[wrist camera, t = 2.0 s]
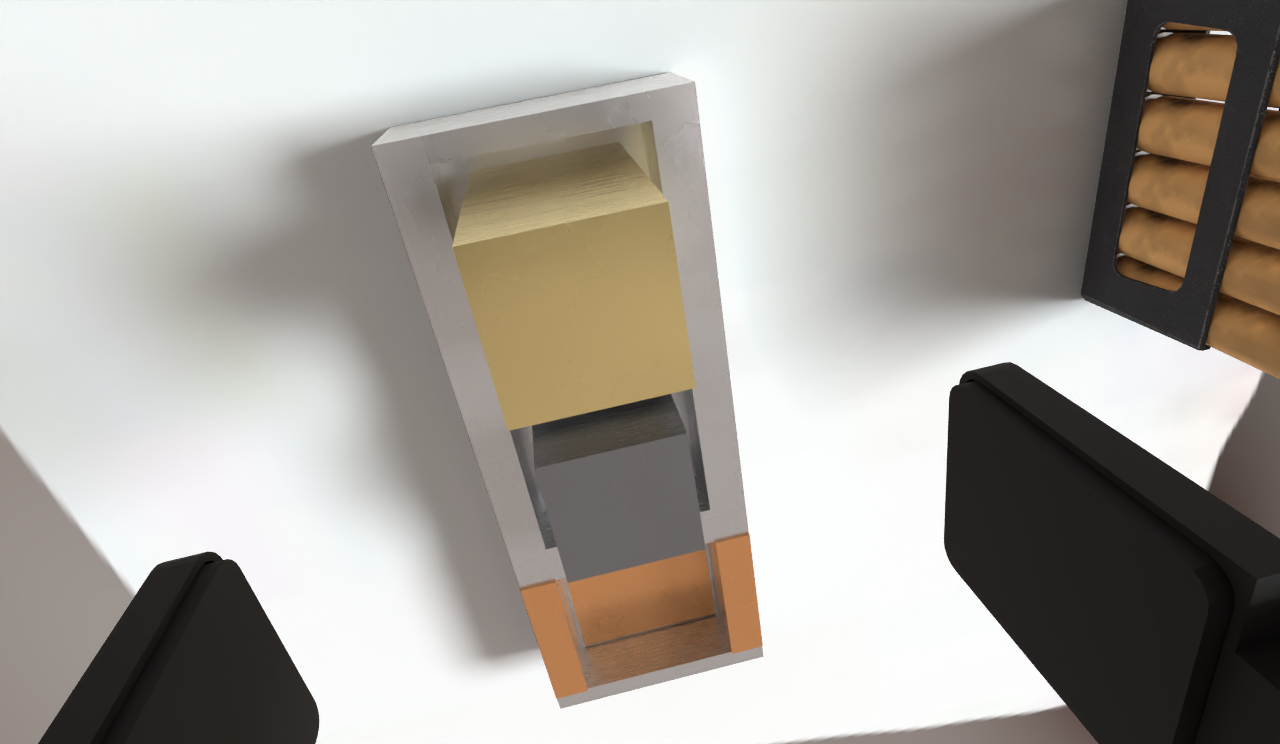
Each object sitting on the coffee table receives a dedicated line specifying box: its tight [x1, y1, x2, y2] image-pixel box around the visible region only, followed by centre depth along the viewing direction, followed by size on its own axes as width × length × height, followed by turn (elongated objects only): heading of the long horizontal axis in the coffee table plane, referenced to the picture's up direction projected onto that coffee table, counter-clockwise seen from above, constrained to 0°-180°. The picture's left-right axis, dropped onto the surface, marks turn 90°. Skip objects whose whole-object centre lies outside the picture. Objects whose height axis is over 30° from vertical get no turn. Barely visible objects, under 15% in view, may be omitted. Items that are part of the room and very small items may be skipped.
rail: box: [371, 72, 763, 708], centre depth 23 cm, size 21×8×3 cm, turn 10°
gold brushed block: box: [452, 142, 696, 431], centre depth 18 cm, size 4×4×7 cm
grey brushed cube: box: [532, 394, 706, 583], centre depth 22 cm, size 4×4×4 cm
